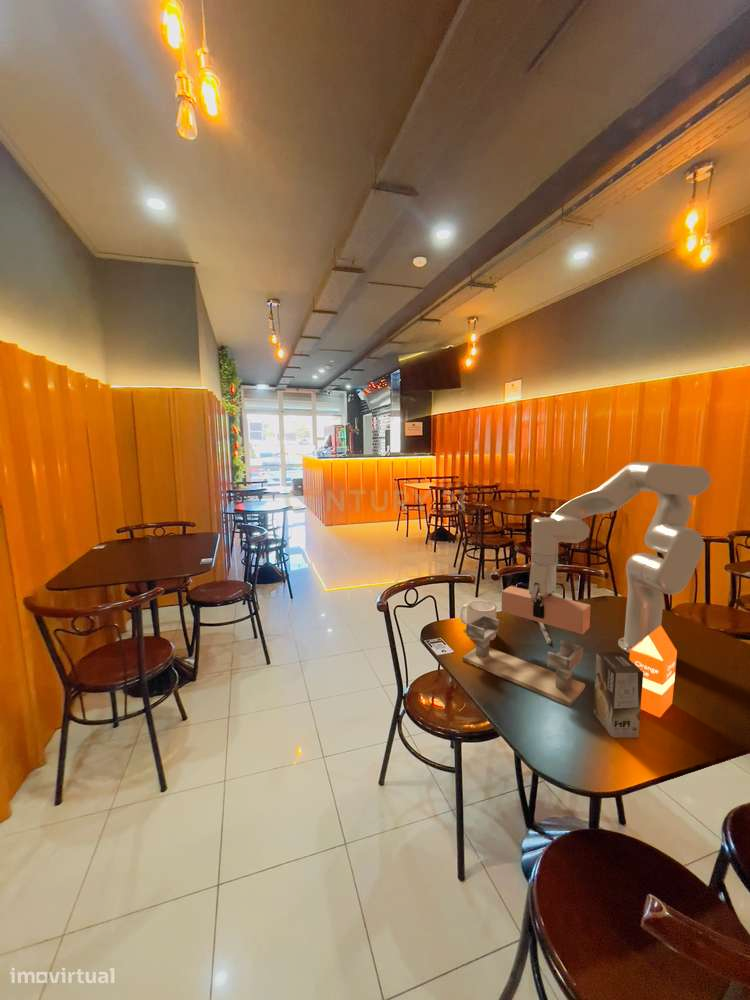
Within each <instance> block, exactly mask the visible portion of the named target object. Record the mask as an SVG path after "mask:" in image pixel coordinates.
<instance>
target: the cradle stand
mask: <svg viewBox="0 0 750 1000" xmlns="http://www.w3.org/2000/svg"><path fill="white" fill-rule="evenodd" d="M499 629H500V619H497V618H496V619H495V618H492V617H489V616H486V615H481V616H479V617H478V618H476V619H474V620H473V621H471V622H469V623H468V624H467V627H466V626H465V634H466V633H467V635H466V637H468V638H469V637H471V638H474V639H476V640H475V648H473V649H471V651H469V652H468V653H466V654H465V655H463V656H462V661H463V662H465V661H466V662H465V663H467V662H468V664H469V665H472V664H473V665H472V666H474V665H475V667H477V668H479V667H480V668H479V669H481V668H482V670H484V671H486V672H489V673H491V674H493V675H494V676H498V677H500V678H503V679H504V680H508V682H509V681H510V682H512V683H514V684H517V685H518V686H521V687H523V688H525V689H528V690H530V691H533V692H535V693H537V694H540V695H542V696H545V697H547V698H549V699H552V700H554V701H557V702H558V703H561V704H563V705H566V706H568V707H571V706H572V705H573V703H574V702H575V701H576V699H577V698H579V696H580V695H581V694H582V692H583V691H584V689H585V687H586V683H584V682H581V681H579V680H577V679H573V678H572V677H573V670H574V669H575V667H577V665H578V664H579V663H580V662H581V661H582V658H583V657H584V656H583V655H584V646H581V645H579V644H576V643H572V642H571V641H566V640H563V639H561V640H560V641H559V651H558V652H557V653H555V652H552V651H548V652H547V653H546V654H547V660H546V666H547V667H548V668H551V669H554V670H555V671H554V670H553V671H552V670H550V669H548V668H544V667H542V666H539V665H537V664H534V663H532V662H530V661H529V662H528V661H526V660H523V659H521V658H518V657H516V656H513V655H510V654H508V653H505V652H502V651H500V650H497V649H495V648H492V647H490V645H491V644H490V642H491V641H490V637H491V636H492V635H494V634H495V633H496V634H497V633H498V632H499V631H500V630H499ZM471 638H470V639H471Z"/></svg>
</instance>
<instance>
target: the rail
mask: <svg viewBox="0 0 750 1000" xmlns="http://www.w3.org/2000/svg"><path fill="white" fill-rule="evenodd" d="M531 595H532V594H529V589H523V588H520V587H517V586H512V585H509V586H508V587H505V589H503V590H501V612H503V613H505V614H510V615H513V616H517V617H521V618H524V619H527V620H530V621H534V622H537V623H539V622H541V623H543V624H544V625H548V626H552V627H555V628H559V629H561V630H566V631H568V632H571V633H577V634H580V635H584V634H585V633H587V631H588V629H590V627H591V626H590V625H591V604H589V603H584V602H580V601H576V600H572V599H567V598H563V597H559V596H555V595H554V596H551V595H547V596H545V597H544V602H543V606H544V618H543V619H541V618H538V617H534V616H533V601H532V599H531ZM538 595H542V594H540V593H538ZM537 598H538V599H539V600H540V601H541V598H540V597H537Z"/></svg>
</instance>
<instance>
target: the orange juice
mask: <svg viewBox="0 0 750 1000" xmlns="http://www.w3.org/2000/svg"><path fill="white" fill-rule="evenodd" d="M676 649H677V648H676V647H675V646H674V644H673V642H672V641H671V639H670V637H669V636H668V634H667V632H666V631H665V629H664V628H663V626H662V625H661V626H660V627H658V628H657V629H656V630H654V631H653V632H652V633H650V634H649V635H648V636H647V637H645V638H644V639H643V640H642V641H640V643H638V644H637V645H636V646H634V647H633V648H631V649H630V653H629V657H628V659H629V660H630V661H631V662H632V663H634V664H635V665H636V666H637V667H638V668H639V669H640V670H642V671H643V684H642V697H641V710H642V711H645V712H646V713H648V714H650V715H653V716H655V717H658V718H661V717H662V716H663V715H664V713H665V712H666V711H667V710H668V709H669V708H670V707H671V705H673V696H674V686H675V680H676V679H675V677H676V668H677V667H676V666H677V657H678V656H677V655H678V650H676Z"/></svg>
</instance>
